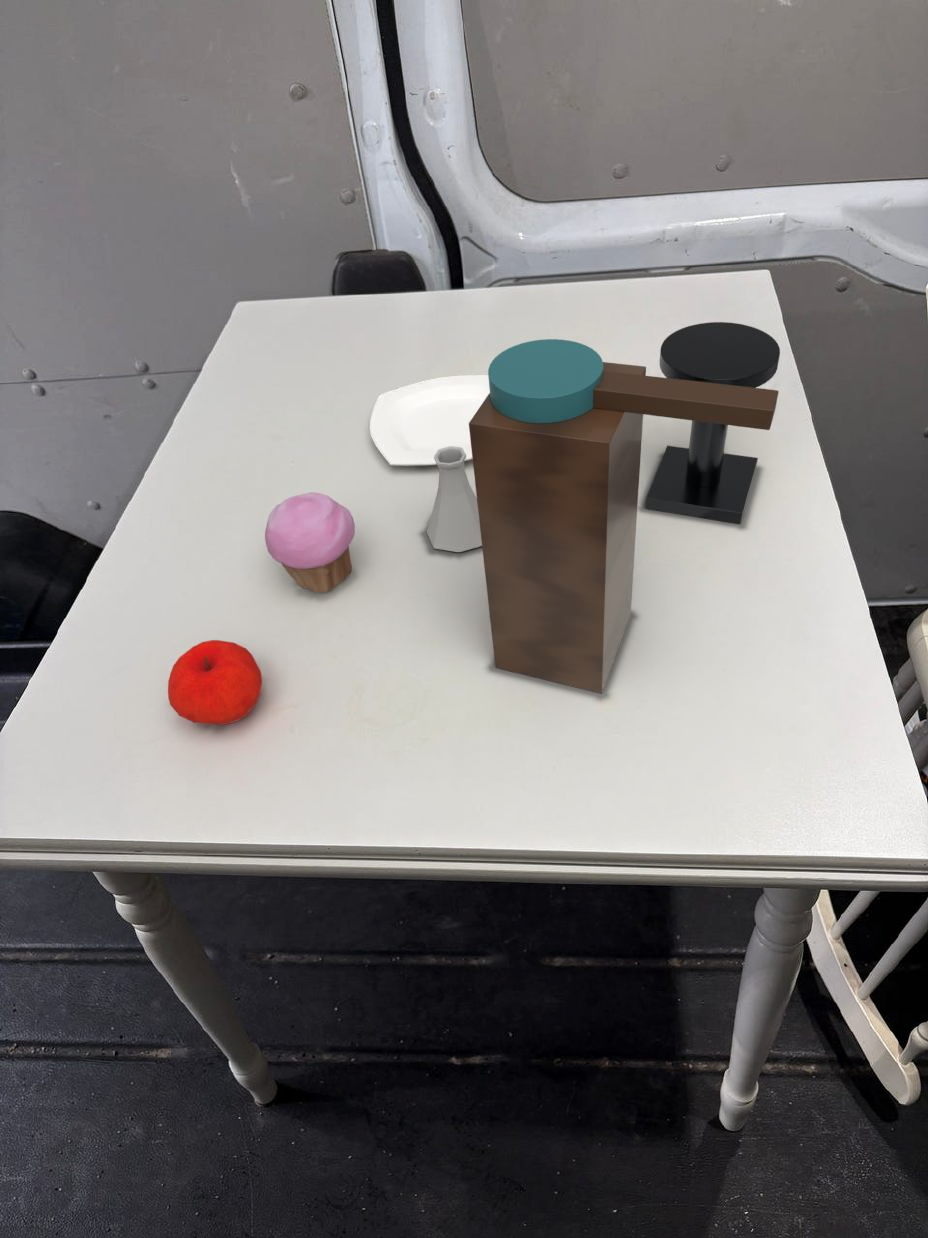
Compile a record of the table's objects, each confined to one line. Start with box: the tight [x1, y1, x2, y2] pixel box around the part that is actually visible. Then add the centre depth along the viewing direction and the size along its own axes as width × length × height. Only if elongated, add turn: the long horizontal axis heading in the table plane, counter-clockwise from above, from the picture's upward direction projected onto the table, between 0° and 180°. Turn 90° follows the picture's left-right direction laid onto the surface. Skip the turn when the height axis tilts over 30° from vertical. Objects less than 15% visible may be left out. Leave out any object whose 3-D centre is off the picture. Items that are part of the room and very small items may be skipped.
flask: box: [426, 446, 482, 553], centre depth 87 cm, size 7×7×10 cm
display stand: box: [644, 321, 781, 525], centre depth 86 cm, size 11×11×16 cm
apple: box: [167, 639, 263, 726], centre depth 73 cm, size 8×8×7 cm
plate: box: [369, 374, 490, 467], centre depth 104 cm, size 19×19×2 cm
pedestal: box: [469, 361, 647, 694], centre depth 69 cm, size 10×10×26 cm
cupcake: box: [264, 491, 356, 594], centre depth 84 cm, size 9×9×10 cm
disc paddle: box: [487, 338, 780, 431], centre depth 57 cm, size 20×8×2 cm, turn 68°
